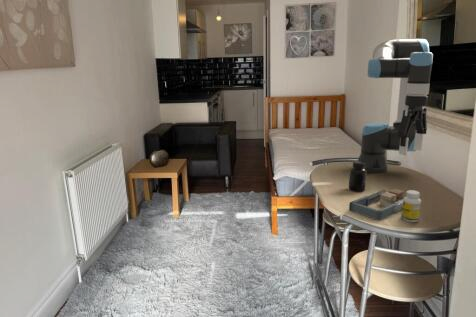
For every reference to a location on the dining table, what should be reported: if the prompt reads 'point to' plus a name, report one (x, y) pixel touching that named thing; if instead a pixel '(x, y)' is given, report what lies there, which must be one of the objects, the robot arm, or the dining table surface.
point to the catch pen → (370, 209)
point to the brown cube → (397, 194)
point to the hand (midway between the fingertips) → (410, 152)
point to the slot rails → (376, 197)
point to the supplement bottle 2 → (411, 206)
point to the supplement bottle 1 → (357, 177)
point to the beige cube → (387, 199)
